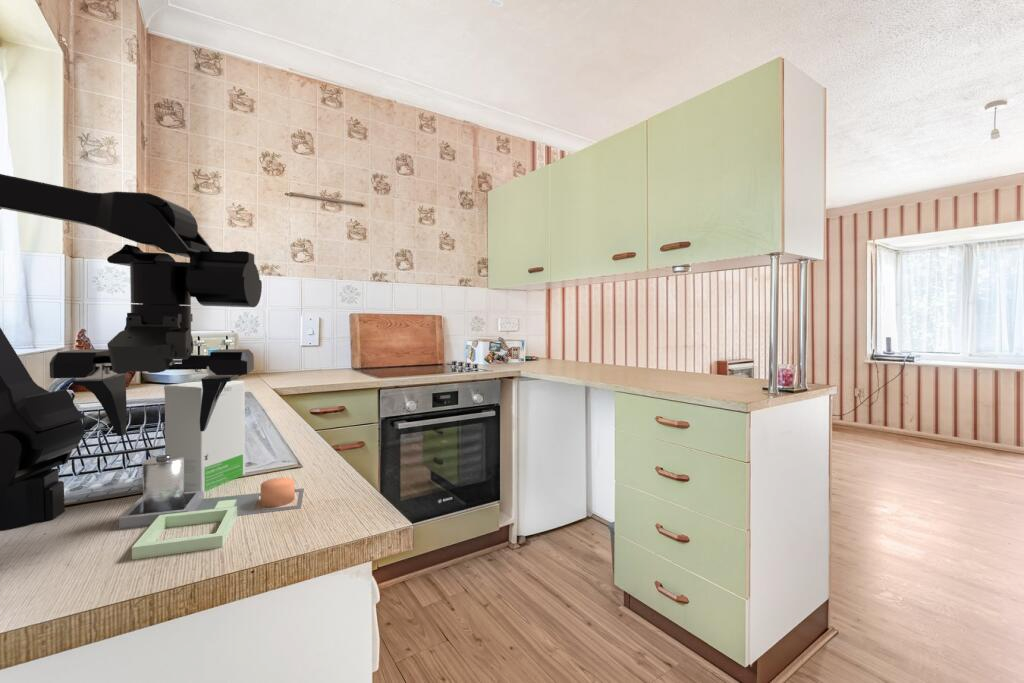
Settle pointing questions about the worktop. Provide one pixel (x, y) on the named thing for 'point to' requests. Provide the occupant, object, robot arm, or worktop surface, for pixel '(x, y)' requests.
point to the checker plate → (199, 507)
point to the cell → (163, 484)
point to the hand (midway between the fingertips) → (163, 432)
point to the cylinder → (277, 492)
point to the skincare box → (206, 434)
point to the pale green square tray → (153, 548)
